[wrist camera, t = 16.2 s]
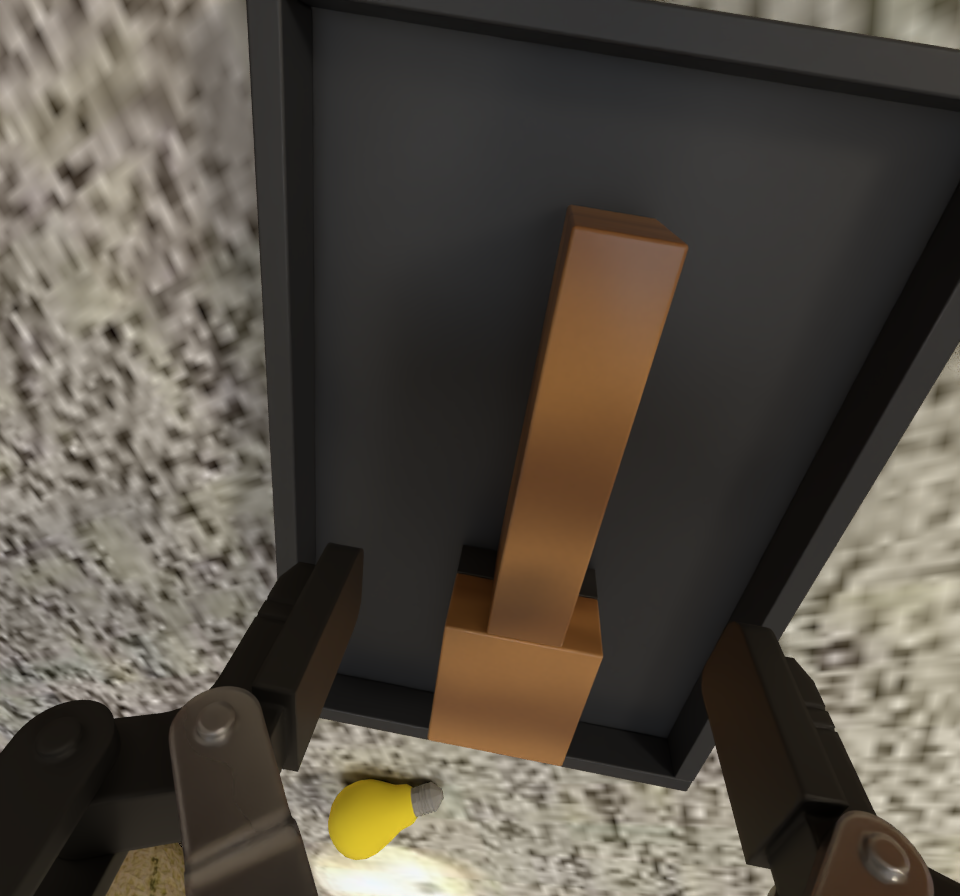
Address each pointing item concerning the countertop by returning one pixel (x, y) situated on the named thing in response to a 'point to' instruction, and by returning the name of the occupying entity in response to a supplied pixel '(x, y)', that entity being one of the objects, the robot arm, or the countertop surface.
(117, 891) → the cantaloupe
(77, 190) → the countertop surface
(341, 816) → the light bulb
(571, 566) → the brush
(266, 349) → the tray
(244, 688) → the robot arm
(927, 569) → the countertop surface
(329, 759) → the countertop surface
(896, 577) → the countertop surface
